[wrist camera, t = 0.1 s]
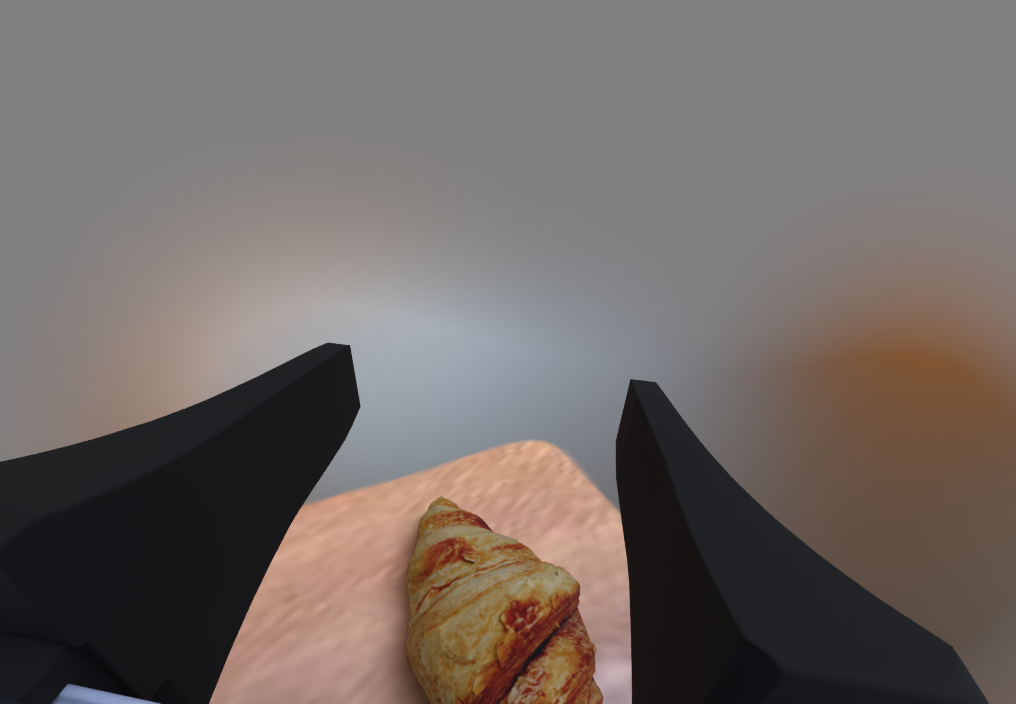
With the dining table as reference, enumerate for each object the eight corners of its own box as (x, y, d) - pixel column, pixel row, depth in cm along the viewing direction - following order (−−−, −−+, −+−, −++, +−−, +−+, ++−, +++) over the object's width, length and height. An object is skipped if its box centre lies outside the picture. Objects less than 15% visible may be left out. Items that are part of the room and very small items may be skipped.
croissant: (402, 564, 35) (339, 516, 30) (505, 482, 37) (461, 423, 32) (553, 969, 18) (469, 1006, 14) (727, 784, 20) (707, 759, 15)
